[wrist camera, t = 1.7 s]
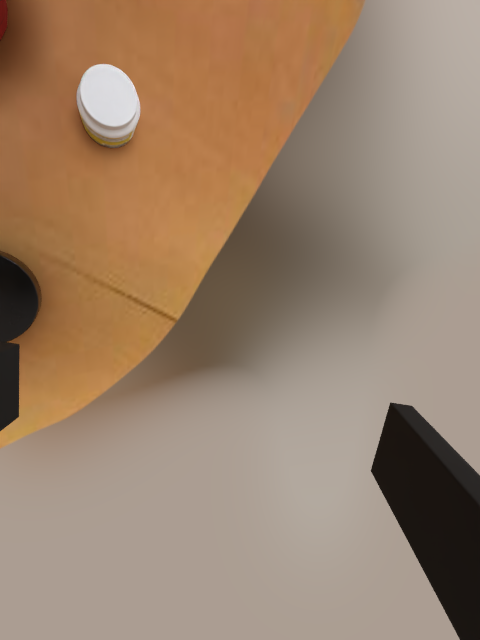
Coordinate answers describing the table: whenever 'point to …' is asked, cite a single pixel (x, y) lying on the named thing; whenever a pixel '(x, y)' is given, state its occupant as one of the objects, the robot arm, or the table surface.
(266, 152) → the table surface
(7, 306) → the desk lamp
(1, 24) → the plastic cup
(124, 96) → the supplement bottle
